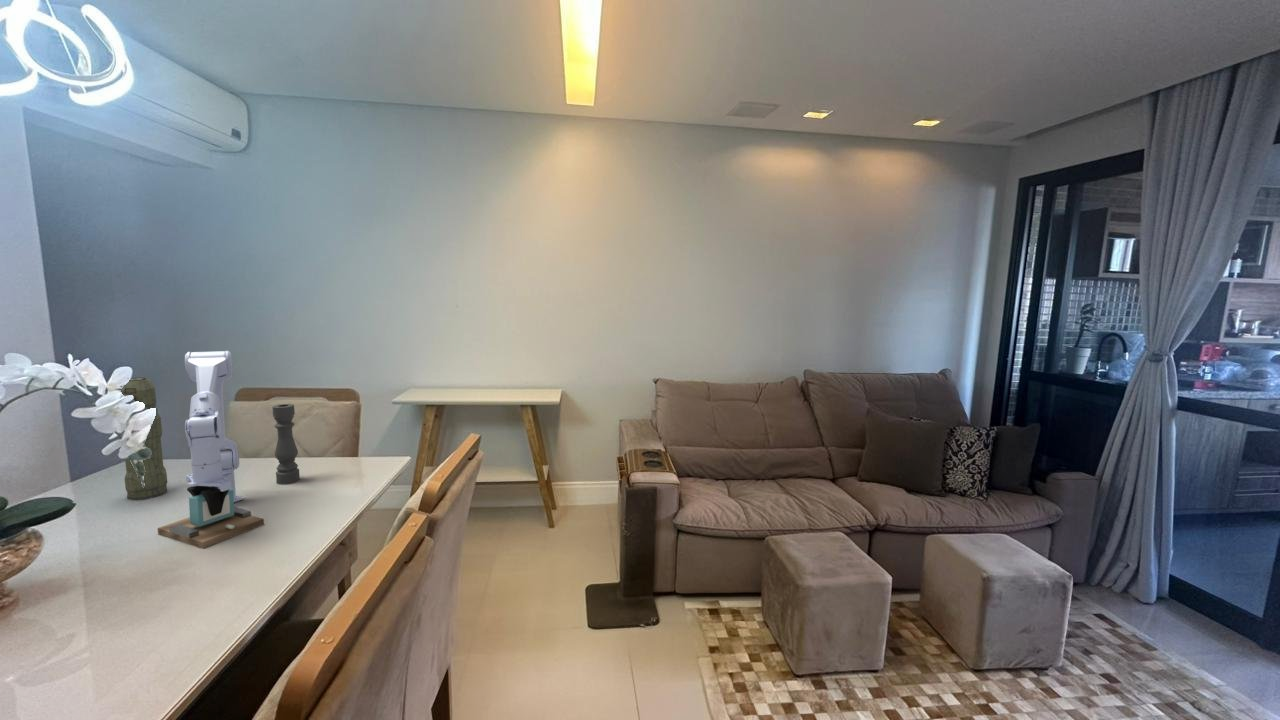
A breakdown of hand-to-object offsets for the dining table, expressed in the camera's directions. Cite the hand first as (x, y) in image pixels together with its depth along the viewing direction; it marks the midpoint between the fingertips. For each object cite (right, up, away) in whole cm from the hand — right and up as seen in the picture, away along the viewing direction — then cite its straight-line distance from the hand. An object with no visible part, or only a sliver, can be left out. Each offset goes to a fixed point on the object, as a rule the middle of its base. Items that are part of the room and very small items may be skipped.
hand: (210, 512), depth 130 cm
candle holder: (-4, 0, +34) cm, 34 cm away
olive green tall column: (-36, -1, +20) cm, 42 cm away
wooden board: (0, -4, +1) cm, 4 cm away
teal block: (0, -2, 0) cm, 2 cm away
